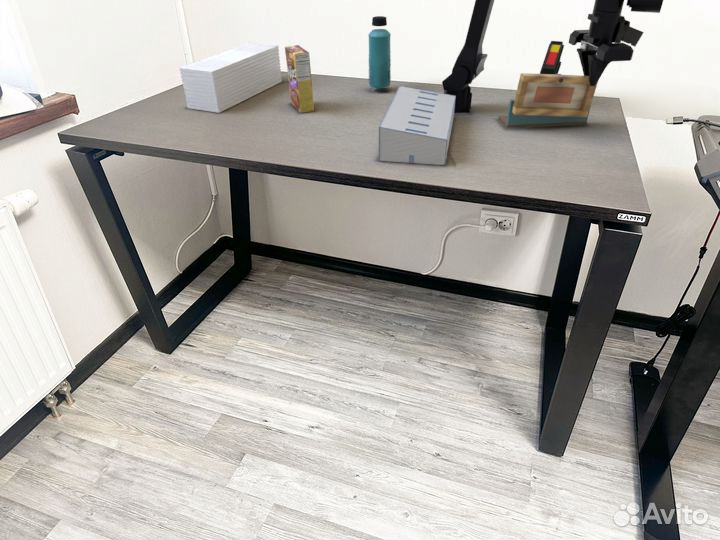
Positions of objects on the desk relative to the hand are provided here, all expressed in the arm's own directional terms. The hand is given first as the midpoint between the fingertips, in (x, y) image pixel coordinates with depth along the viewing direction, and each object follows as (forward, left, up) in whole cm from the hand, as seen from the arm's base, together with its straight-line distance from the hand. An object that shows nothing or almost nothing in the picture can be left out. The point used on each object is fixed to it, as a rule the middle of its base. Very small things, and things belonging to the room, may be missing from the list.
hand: (590, 84), depth 121 cm
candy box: (-68, +25, -11) cm, 73 cm away
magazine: (-1, +21, -11) cm, 24 cm away
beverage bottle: (-45, +38, -11) cm, 60 cm away
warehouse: (-40, -1, -11) cm, 41 cm away
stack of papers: (-87, +40, -11) cm, 96 cm away
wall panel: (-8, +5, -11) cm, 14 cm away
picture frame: (-8, 0, -7) cm, 11 cm away
